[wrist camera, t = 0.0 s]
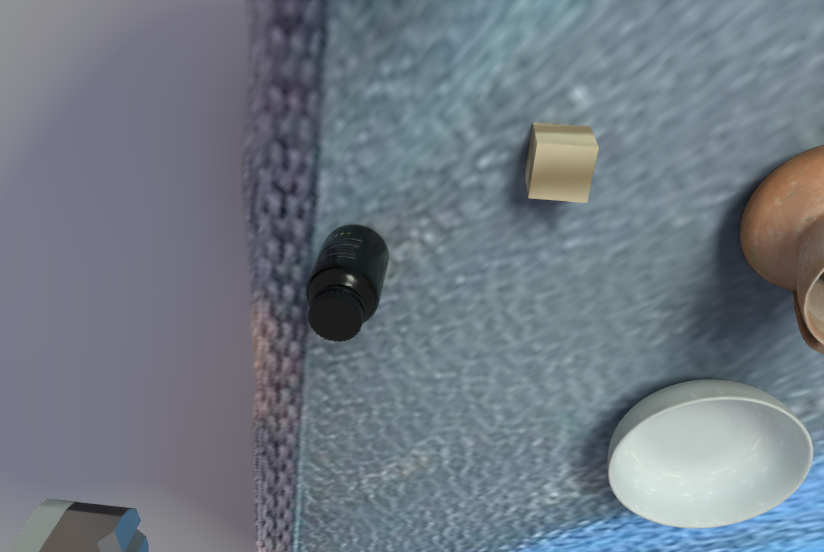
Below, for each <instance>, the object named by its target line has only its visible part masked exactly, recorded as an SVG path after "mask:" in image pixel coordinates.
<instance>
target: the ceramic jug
mask: <svg viewBox="0 0 824 552" xmlns="http://www.w3.org/2000/svg"><path fill="white" fill-rule="evenodd" d="M740 240H741V246H742V250H743V253H744V255H745V257H746V259H747V261H748V263H749V264H750V266H751V267H752V268H753V269H754V270H755V271H756V272H757V273H758V274H759V275H760V276H761V277H763V278H764V279H766V280H767V281H769V282H771V283H773V284H775V285H777V286H780V287H783V288H785V289H789V290H792V292H793V296H794V310H795V313H796V318H797V323H798V326H799V330H800V332H801V335H802V337H803V339H804V341H805V342H806V344H807V345H808V346H809V347H811V348H812V349H814V350H816V351H818V352H820V353H823V354H824V145H822V146H818V147H815V148H812V149H810V150H807V151H805V152H803V153H801V154H798V155H796V156H795V157H793V158H791V159H789V160H788V161H786V162H785V163H783V164H782V165H780V166H779V167H778V168H776V169H775V170H774V171H773V172H771V173H770V174H769V175H768V176H767V177H766V178H765V179H764V180H763V181H762V182H761V183H760V185H759V186H758V187H757V188H756V190H755V191H754V192H753V194H752V195H751V197H750V199H749V201H748V203H747V205H746V207H745V210H744V213H743V216H742V220H741V227H740Z"/></svg>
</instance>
